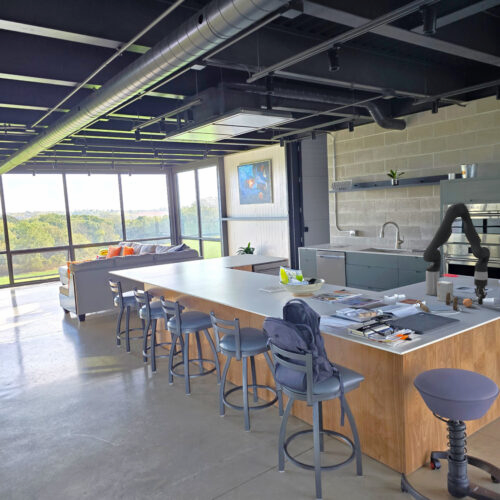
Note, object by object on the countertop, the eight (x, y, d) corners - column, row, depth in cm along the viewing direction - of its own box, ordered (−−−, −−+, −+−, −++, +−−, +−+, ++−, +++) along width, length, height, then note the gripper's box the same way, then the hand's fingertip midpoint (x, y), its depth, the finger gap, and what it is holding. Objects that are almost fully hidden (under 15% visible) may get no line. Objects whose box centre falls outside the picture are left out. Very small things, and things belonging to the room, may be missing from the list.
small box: (453, 301, 295) (453, 282, 294) (447, 302, 292) (447, 283, 291) (442, 298, 302) (443, 280, 301) (436, 300, 299) (437, 281, 298)
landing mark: (423, 305, 288) (423, 304, 288) (443, 304, 287) (443, 304, 287) (430, 310, 275) (430, 310, 275) (451, 310, 274) (451, 309, 274)
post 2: (452, 309, 275) (452, 297, 274) (456, 309, 275) (456, 297, 274) (453, 310, 273) (454, 298, 272) (458, 310, 273) (458, 298, 272)
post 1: (445, 304, 288) (445, 292, 287) (449, 304, 288) (449, 292, 287) (446, 305, 285) (446, 293, 284) (450, 305, 285) (450, 293, 284)
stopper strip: (416, 304, 292) (416, 300, 292) (419, 304, 292) (419, 300, 291) (425, 312, 272) (425, 308, 272) (428, 312, 272) (428, 308, 272)
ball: (461, 305, 282) (461, 297, 282) (470, 305, 282) (470, 297, 281) (464, 308, 277) (464, 299, 276) (473, 307, 276) (473, 299, 276)
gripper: (470, 276, 283) (469, 302, 286) (479, 280, 270) (478, 307, 272) (482, 275, 283) (481, 301, 285) (492, 280, 270) (491, 306, 272)
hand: (480, 304), depth 279 cm, fingers closed
